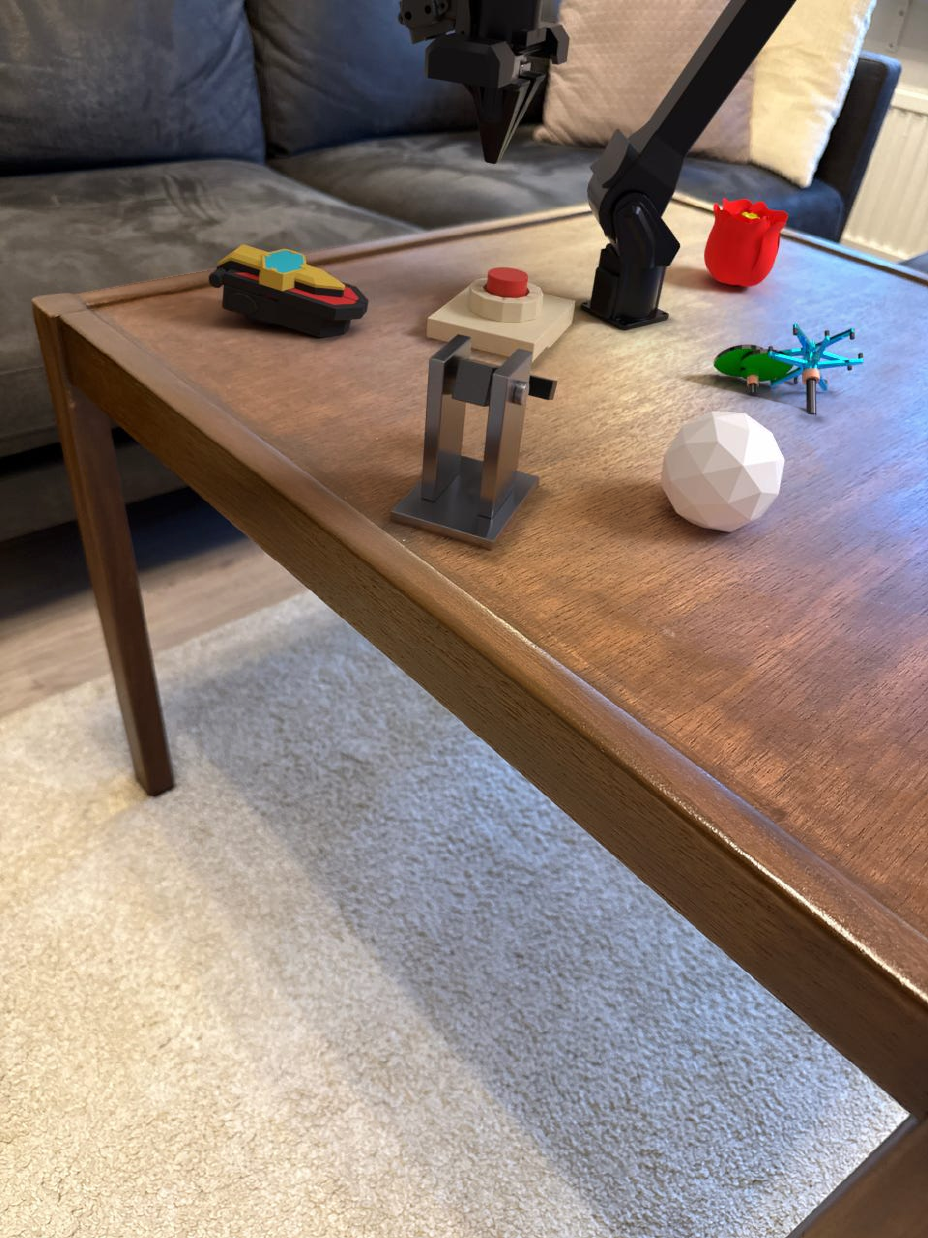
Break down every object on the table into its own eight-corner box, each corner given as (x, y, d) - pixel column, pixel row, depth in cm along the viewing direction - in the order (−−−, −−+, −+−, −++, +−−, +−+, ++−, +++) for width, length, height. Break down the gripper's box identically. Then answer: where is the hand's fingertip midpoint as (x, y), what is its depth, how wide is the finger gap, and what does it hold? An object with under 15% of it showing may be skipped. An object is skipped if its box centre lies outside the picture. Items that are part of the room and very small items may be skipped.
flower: (778, 284, 105) (800, 208, 100) (755, 302, 99) (777, 223, 94) (711, 266, 108) (729, 192, 103) (686, 283, 102) (703, 205, 97)
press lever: (485, 390, 68) (492, 356, 67) (551, 407, 66) (559, 373, 66) (429, 392, 57) (437, 352, 57) (506, 413, 56) (515, 372, 55)
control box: (475, 300, 93) (479, 259, 91) (572, 323, 91) (578, 281, 88) (425, 341, 84) (428, 297, 82) (531, 367, 82) (537, 322, 79)
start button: (494, 283, 87) (496, 263, 86) (531, 291, 86) (533, 272, 85) (480, 295, 84) (481, 275, 83) (517, 303, 84) (520, 283, 82)
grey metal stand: (445, 465, 67) (457, 317, 61) (537, 491, 66) (560, 342, 59) (390, 526, 61) (396, 367, 54) (491, 557, 59) (510, 397, 52)
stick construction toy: (859, 363, 83) (865, 309, 76) (861, 435, 80) (868, 386, 73) (717, 375, 86) (710, 324, 79) (715, 444, 84) (709, 398, 77)
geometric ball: (699, 570, 65) (690, 519, 58) (649, 479, 68) (634, 421, 61) (804, 520, 64) (807, 462, 57) (748, 430, 67) (744, 365, 60)
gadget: (348, 360, 83) (358, 299, 79) (204, 314, 83) (208, 252, 79) (368, 333, 88) (378, 275, 84) (232, 290, 88) (237, 230, 84)
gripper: (462, -67, 83) (449, 129, 93) (365, -62, 69) (362, 167, 79) (583, -51, 80) (556, 149, 90) (507, -44, 67) (485, 192, 76)
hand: (491, 162), depth 84 cm, fingers closed
